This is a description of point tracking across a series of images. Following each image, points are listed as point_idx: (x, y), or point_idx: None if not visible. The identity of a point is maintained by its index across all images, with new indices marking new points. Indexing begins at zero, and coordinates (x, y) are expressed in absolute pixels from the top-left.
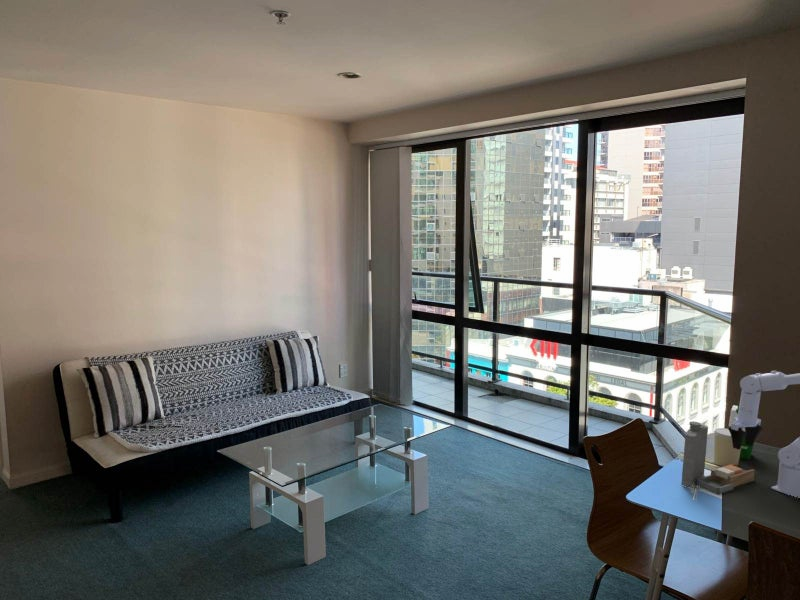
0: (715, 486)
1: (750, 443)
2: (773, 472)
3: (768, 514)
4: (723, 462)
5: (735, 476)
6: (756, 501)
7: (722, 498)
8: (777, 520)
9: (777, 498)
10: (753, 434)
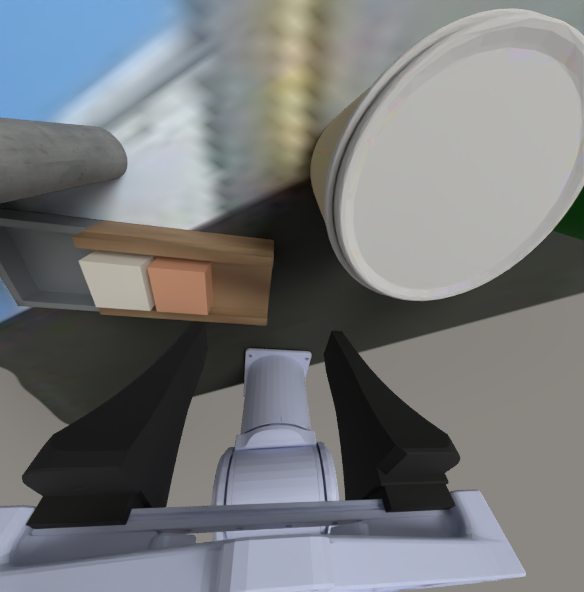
0: (16, 291)
1: (328, 360)
2: (390, 307)
3: (92, 390)
4: (311, 182)
5: (134, 316)
6: (127, 358)
7: (29, 310)
8: (87, 405)
9: (201, 371)
10: (343, 425)
